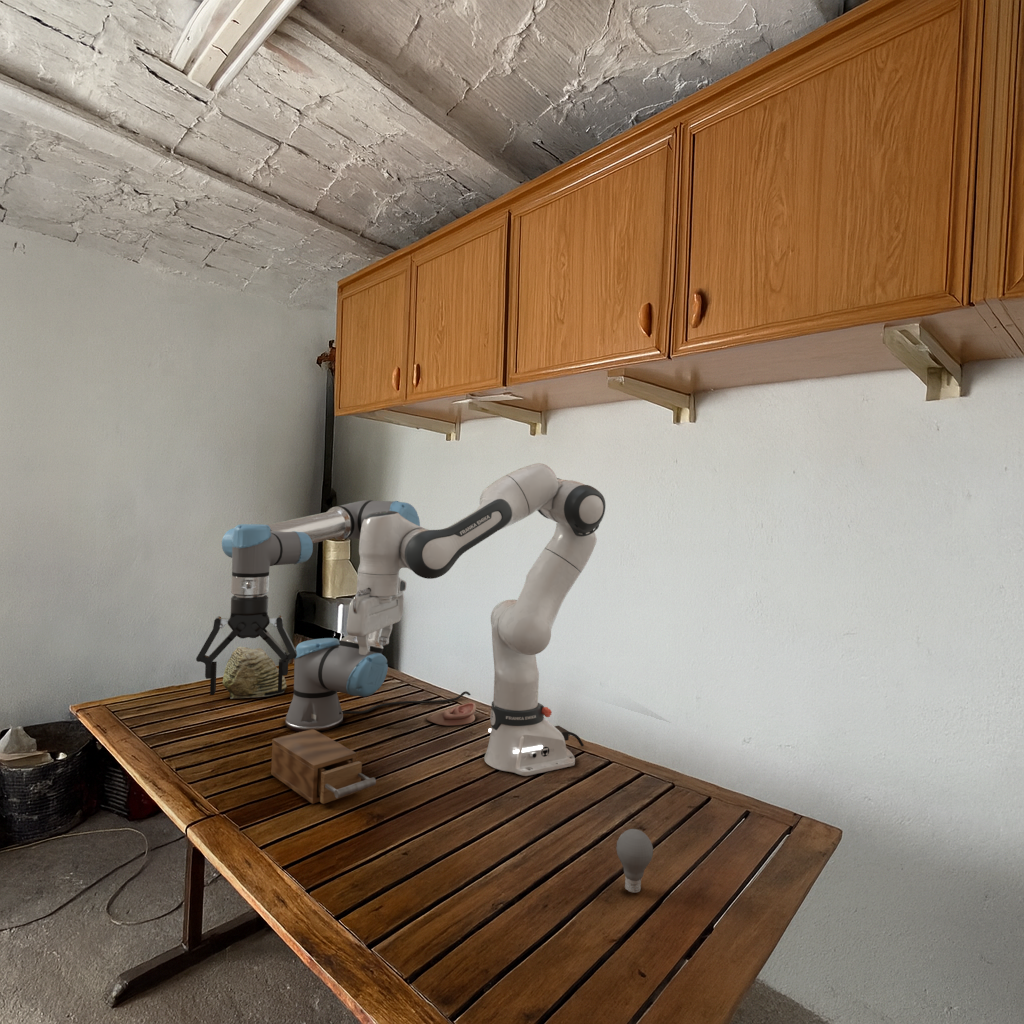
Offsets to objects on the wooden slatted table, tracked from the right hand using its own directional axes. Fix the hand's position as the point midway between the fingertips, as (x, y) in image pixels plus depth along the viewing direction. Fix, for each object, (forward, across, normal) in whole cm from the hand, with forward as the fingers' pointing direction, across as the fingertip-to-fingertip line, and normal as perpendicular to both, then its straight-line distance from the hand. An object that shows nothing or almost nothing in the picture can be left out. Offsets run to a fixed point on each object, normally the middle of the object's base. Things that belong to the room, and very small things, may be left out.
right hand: (374, 649), depth 137 cm
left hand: (+11, -5, +27) cm, 30 cm away
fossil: (+31, +47, +62) cm, 84 cm away
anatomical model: (+30, +48, -3) cm, 57 cm away
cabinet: (+31, 0, +13) cm, 34 cm away
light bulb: (+30, -19, -58) cm, 68 cm away
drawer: (+30, -3, +7) cm, 31 cm away
